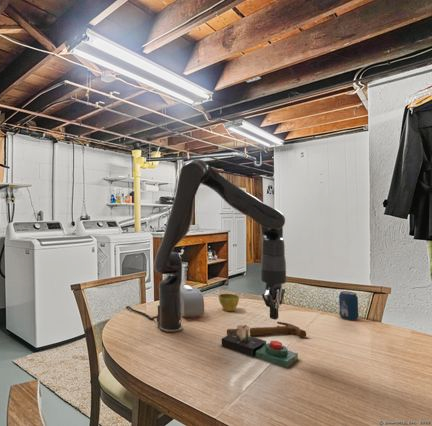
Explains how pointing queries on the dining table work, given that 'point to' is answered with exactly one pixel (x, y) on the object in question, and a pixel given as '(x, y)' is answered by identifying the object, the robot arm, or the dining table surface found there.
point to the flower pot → (228, 301)
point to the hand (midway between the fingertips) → (274, 318)
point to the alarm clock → (191, 301)
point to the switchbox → (277, 355)
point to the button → (276, 345)
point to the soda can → (348, 305)
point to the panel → (243, 344)
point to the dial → (243, 333)
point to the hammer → (273, 330)
